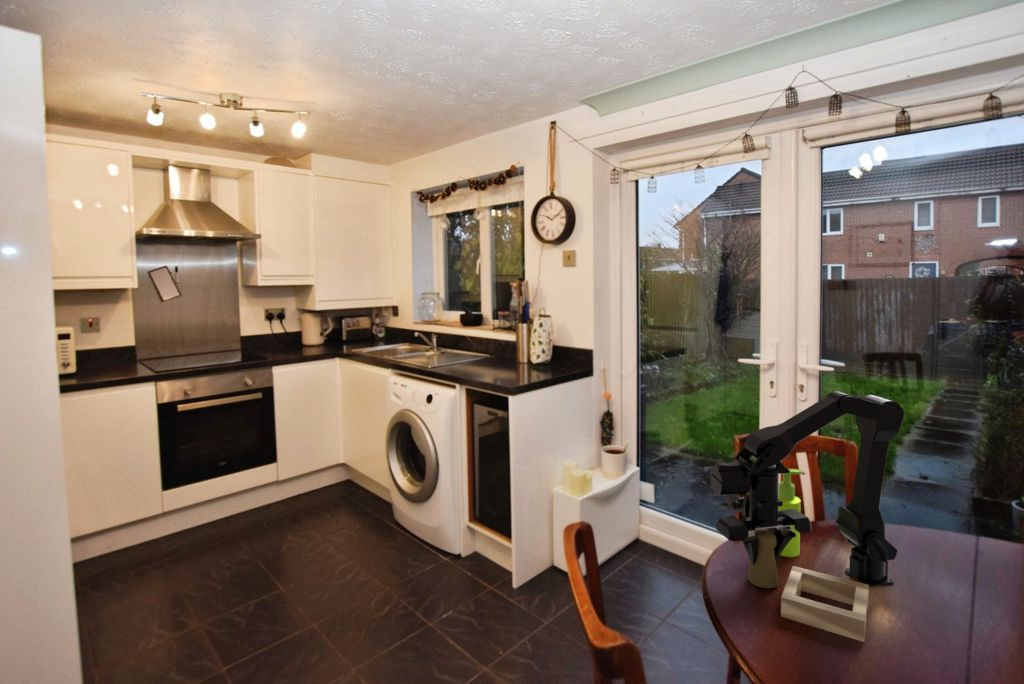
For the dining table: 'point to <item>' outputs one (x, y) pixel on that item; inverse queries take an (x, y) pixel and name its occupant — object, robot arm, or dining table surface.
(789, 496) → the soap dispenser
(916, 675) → the dining table surface
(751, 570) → the olive round-headed peg
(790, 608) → the socket block
